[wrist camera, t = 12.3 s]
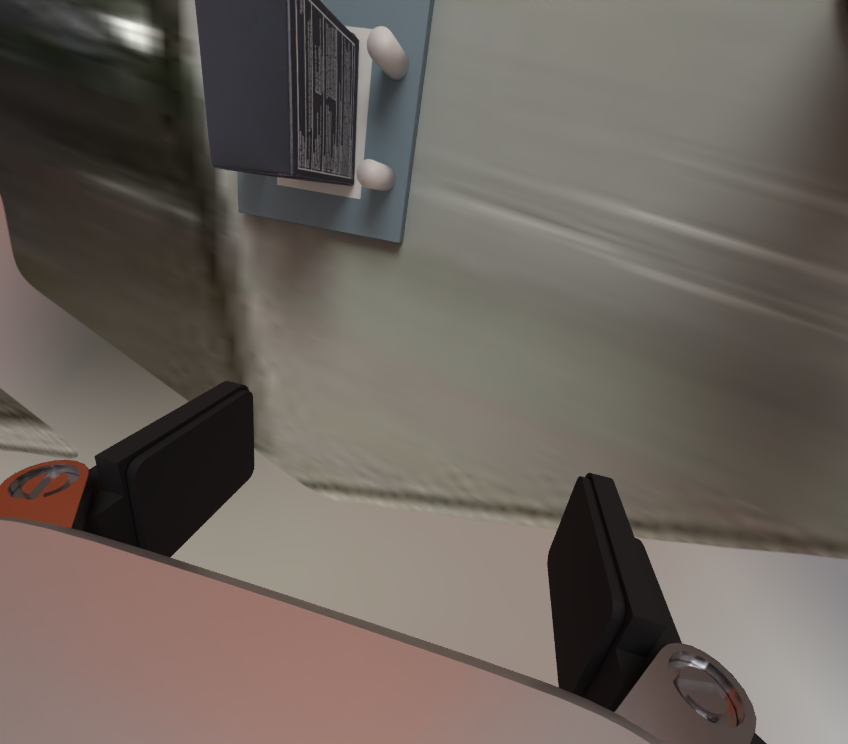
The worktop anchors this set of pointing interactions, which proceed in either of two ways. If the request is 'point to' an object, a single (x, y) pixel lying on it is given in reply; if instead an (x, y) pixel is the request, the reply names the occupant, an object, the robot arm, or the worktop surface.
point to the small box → (279, 88)
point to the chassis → (364, 129)
